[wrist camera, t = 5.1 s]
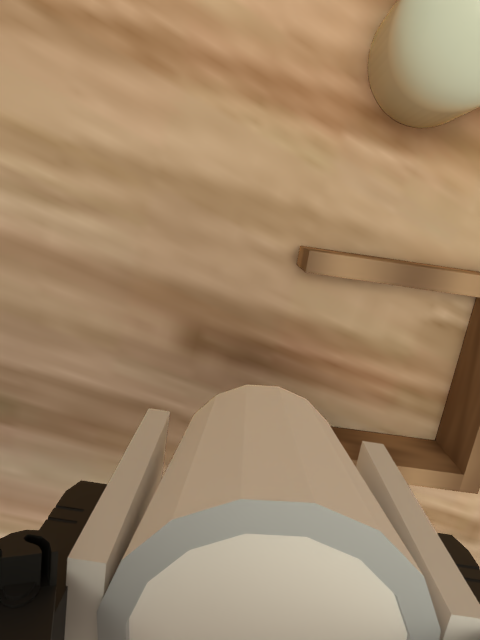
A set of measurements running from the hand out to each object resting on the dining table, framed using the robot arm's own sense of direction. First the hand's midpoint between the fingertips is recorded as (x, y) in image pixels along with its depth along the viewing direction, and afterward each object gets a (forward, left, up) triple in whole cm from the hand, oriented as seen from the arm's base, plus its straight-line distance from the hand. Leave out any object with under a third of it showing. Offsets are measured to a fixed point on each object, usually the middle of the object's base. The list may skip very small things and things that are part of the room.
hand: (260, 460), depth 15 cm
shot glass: (0, 0, -1) cm, 1 cm away
